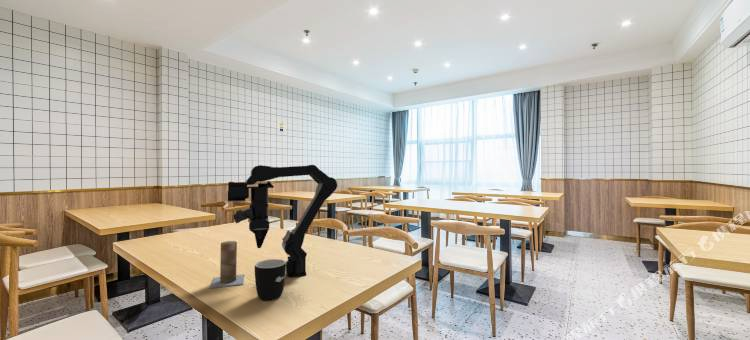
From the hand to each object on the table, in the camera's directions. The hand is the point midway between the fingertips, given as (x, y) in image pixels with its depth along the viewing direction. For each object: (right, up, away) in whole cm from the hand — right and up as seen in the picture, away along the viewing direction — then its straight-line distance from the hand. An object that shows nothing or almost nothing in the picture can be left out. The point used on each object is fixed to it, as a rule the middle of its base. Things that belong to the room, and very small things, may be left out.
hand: (259, 244), depth 108 cm
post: (-10, -12, -3) cm, 15 cm away
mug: (+9, -12, -14) cm, 21 cm away
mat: (-10, -12, -3) cm, 16 cm away
